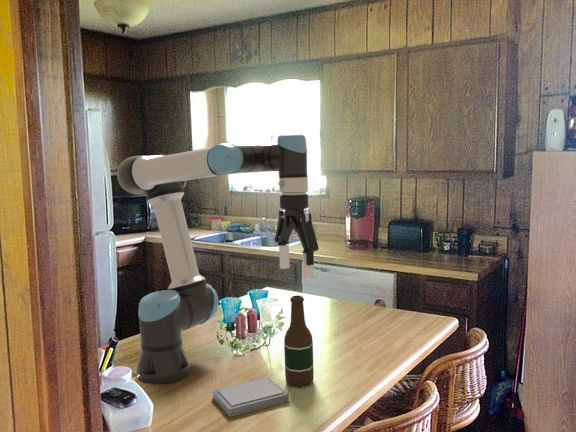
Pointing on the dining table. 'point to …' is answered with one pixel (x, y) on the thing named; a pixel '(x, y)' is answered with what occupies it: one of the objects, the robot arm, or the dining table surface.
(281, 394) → the slate stand
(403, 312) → the dining table surface
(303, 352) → the beer bottle
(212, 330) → the dining table surface
